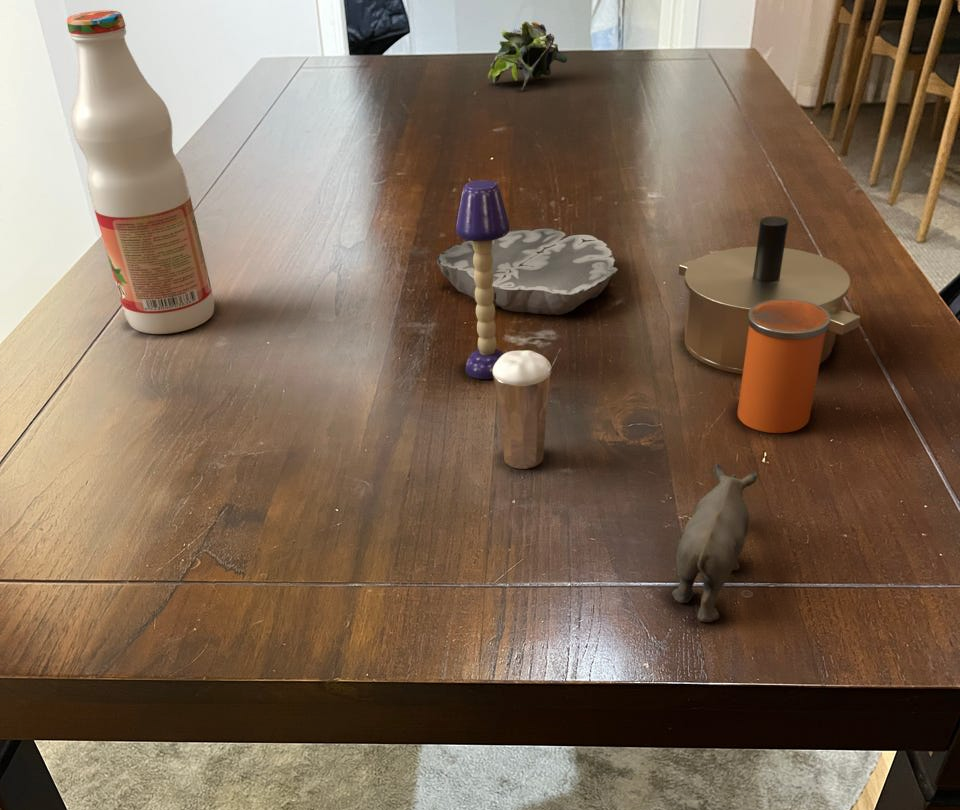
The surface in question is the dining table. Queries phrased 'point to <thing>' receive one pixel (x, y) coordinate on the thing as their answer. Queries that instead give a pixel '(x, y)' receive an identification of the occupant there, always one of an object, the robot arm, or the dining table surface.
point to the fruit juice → (137, 183)
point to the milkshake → (522, 405)
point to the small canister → (781, 364)
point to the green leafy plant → (526, 53)
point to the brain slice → (536, 270)
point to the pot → (740, 331)
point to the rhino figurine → (713, 541)
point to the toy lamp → (483, 265)
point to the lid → (766, 273)
